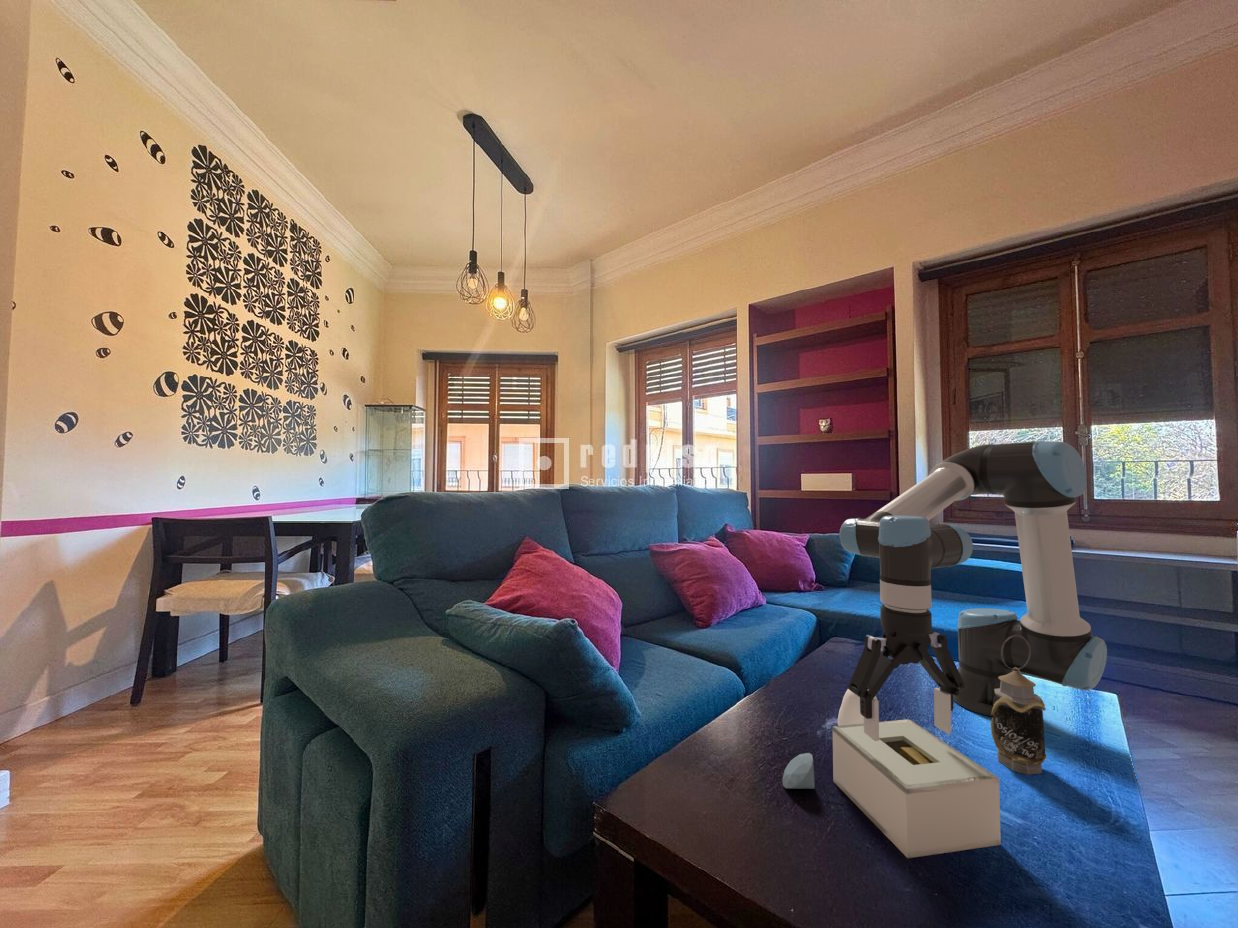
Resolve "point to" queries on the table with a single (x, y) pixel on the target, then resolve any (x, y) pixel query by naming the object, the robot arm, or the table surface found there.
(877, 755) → the coin box
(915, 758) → the tan rectangular block
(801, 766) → the gemstone
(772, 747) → the table surface
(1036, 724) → the ring-topped bottle ornament
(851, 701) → the figurine
